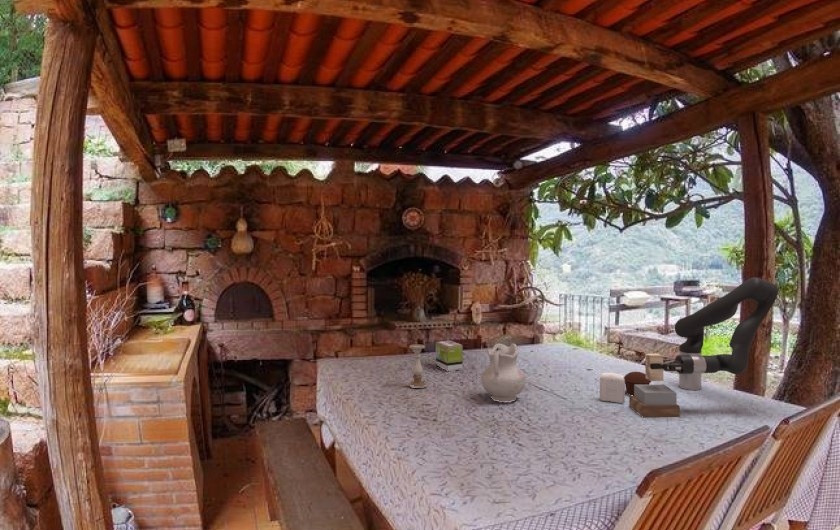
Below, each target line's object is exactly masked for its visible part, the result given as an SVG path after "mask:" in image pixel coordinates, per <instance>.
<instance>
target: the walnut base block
mask: <svg viewBox="0 0 840 530" xmlns="http://www.w3.org/2000/svg"><path fill="white" fill-rule="evenodd" d="M628 400H629V402H628V403H629V406H630V407H629V408H630V409H632V408H633V409H634V410H635V412H636V413H637V412H638V413H639V414H640V415H639V414H638V413H637V414H638V415H639V416H641V417H642V416H643V417H642V418H660V417H680V415H681V413H680V408H681V407H680V405H679V404H677V405H644V404H643V403H642V402H641V401H639V400H638V399H637V398H636V397H634V396H630V395H629V399H628ZM633 409H632V410H633ZM634 410H633V411H634Z"/></svg>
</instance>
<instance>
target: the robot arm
mask: <svg viewBox="0 0 840 530" xmlns="http://www.w3.org/2000/svg"><path fill="white" fill-rule="evenodd" d="M778 295H779V286H778V285H777V284H775V283H773V282H770V281H767V280H765V279H763V278H761V277H755V276H754V277H750V278H748V279H747V280H745V281H743V282H742V283H741V284H738V286H736V288H734V289H733V290H731V291H730V292H728V293H726V294H724V295H723V296H721V297H720V298H718V299H715V300H714V301H712V302H710V303H708V304H707V305H705V306H704V307H702V308H701V309H699V310H696V311H695V312H693V313H692V314H689V315H686V316H683V317H681V318H679V319H678V320H677V321H676V322H675V324H674V332H675V333H676V335H677V336H679V337H680V338H685V339H686V340H685V341H684V342H683V343H681V344H680V345H679V346H678V347H679V348H678V351H679V352H678V353H679V354H677V355H676V357H675V358H674V359H672V358H665V357H663V363H661V364H660V363H651V364H650V368H651V369H661V370H663V372H664V371H666V372H676V373H678V387H680V389H684V390H689V391H690V390H691V391H700V390H702V374H715V373H718V372H721V371H722V372H727V373H730V374H733V375H741V374H743V373H744V372H745V371H746V369H747V367H748V363H749V357H750V356H749V355H750V348H751V346H752V344H753V341H754V338H755V335H756V333H757V332H758V329H759V328H760V326H761V324H762V322H764V320H765V319H766V316H767V315H768V313H769V311H770V310H771V308H772V307H773V305H774V304H775V302H776V301H777V298H778ZM747 300H749V301H750V300H751V301H753V302H755V303H757V304H756V306H755V308H754V310H753V311H752V312H751V314H750V315H748V316H747V317H745V319H744V320H741V321H740V322H739V324H738V325H737V326H736V327H735V329H734V331H733V333H732V336H731V338H730V340H729V344H728V345H729V346H730V347H729V348H731V349H732V350H731V353H730V354H728V353H720V354H714V355H702V349H703V346H704V337H705V327H706V328H707V327H710V326H713V325H717V324H721V323H723V322H726V321H727V320H729V319H731V318H733V317H734V316H735V315H736V313H737V311H738V306H739V304H740V303H742V302H745V301H747ZM644 366H646V363H645V360H644Z"/></svg>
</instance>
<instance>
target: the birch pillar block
mask: <svg viewBox="0 0 840 530" xmlns="http://www.w3.org/2000/svg"><path fill="white" fill-rule="evenodd" d="M644 356H645V357H644V359H645V360H644V361H645V363H646V366H645V365H644V366H645V374H646V379H648V380H650V381H651V382H664V370H661V369H651V368H650V364H651V363H660V364H661V363H663V358H664V356H663V355H662V354H659V353H645V354H644Z"/></svg>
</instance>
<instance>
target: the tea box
mask: <svg viewBox="0 0 840 530" xmlns="http://www.w3.org/2000/svg"><path fill="white" fill-rule="evenodd" d="M463 349H464V348H463V344H460V343H459V342H455V341H452V340H442V341H435V365H436V364H437V365H439V366H441V367H443V368H445V369H447V370H449V369H458V368H463V366H464V365H463V364H464V363H463V361H464V360H463V357H464V356H463V353H464V352H463Z"/></svg>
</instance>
